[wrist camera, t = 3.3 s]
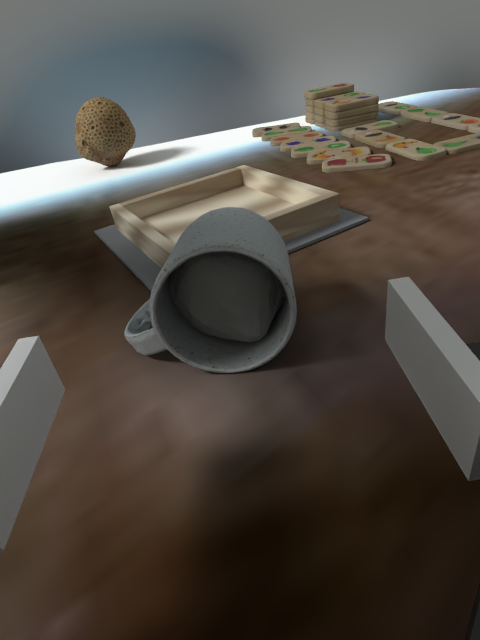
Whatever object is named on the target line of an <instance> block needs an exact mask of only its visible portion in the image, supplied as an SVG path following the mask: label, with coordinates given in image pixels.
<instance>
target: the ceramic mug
mask: <svg viewBox="0 0 480 640" xmlns="http://www.w3.org/2000/svg"><path fill="white" fill-rule="evenodd" d="M296 316H297V306H296V297H295V292H294V287H293V280H292V274H291V269H290V264H289V256H288V252H287V248H286V246H285V243H284V241H283V239H282V238H281V236H280V234H279V233H278V231H277V230H276V229H275V228H274V226H273V225H272V224H271V223H270V222H269V221H268V220H266V219H265V218H264V217H262V216H261V215H259V214H257V213H255V212H253V211H250V210H247V209H244V208H237V207H224V208H219V209H215V210H211V211H209V212H207V213H205V214H203V215H201V216H200V217H199V218H197V219H196V220H195V221H193V222H192V223H191V224H190V225H189V226H188V227H187V228H186V229H185V230H184V232H183V233H182V234H181V236H180V237H179V239H178V241H177V243H176V245H175V247H174V249H173V251H172V253H171V254H170V256H169V257H168V259H167V261H166V262H165V264H164V266H163V267H162V269H161V271H160V273H159V274H158V276H157V278H156V280H155V283H154V286H153V288H152V291H151V297H150V299H149V300H148V301H147V302H146V303H144V304H143V305H142V306H141V307H140V309H139V310H138V311H137V312H136V313H135V314H134V315H133V317H132V318H131V320H130V321H129V323H128V325H127V326H126V329H125V332H124V335H125V338H126V340H127V341H128V342H129V343H130V344H131V345H132V346H133V347H134V348H135V350H136V351H137V352H139V353H141V354H142V355H147V356H148V355H153V354H157V353H160V352H163V351H165V350H168V351H169V352H171V353H172V354H173V355H174V356H175V357H177V358H178V359H179V360H181V361H182V362H184V363H186V364H188V365H190V366H192V367H195V368H198V369H200V370H203V371H209V372H215V373H237V372H244V371H249V370H252V369H255V368H257V367H260V366H262V365H263V364H265V363H267V362H268V361H270V360H271V359H273V358H274V357H275V356H277V355H278V354H279V352H280V351H281V350H282V349H283V348H284V347H285V345H286V344H287V342H288V341H289V339H290V337H291V335H292V333H293V330H294V327H295V323H296ZM152 326H153V328H152ZM151 328H152V329H151Z"/></svg>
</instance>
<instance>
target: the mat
mask: <svg viewBox="0 0 480 640" xmlns="http://www.w3.org/2000/svg"><path fill="white" fill-rule="evenodd" d="M366 221H369V217H366V216H363V215H360V214H357V213H354V212H351V211H348V210H345V209H342V208H340V220H339V221H336V222H334V223H331V224H329V225H326V226H324V227H321V228H319V229H316V230H314V231H311V232H309V233H306V234H304V235H301V236H299V237H296V238H294V239H291V240H289V241H286V242H284V243H285V246H286V248H287V252H288V254H289V253H291V252H294V251H296V250H298V249H301V248H303V247H306V246H308V245H311V244H313V243H315V242H318V241H320V240H323V239H325V238H328V237H330V236H332V235H335V234H337V233H340V232H342V231H344V230H347V229H349V228H352V227H354V226H357V225H359V224H361V223H364V222H366ZM94 232H95V234H96V235H97V236H98V237H99V238H100V239H101V240H102V241H103V242H104V243H105V245H106V246H107V247H108V248H109V249H110V250H111V251H112V252H113V253H114V254H115V255H116V256H117V257H118V258H119V259H120V260H121V261H122V262H123V263H124V264H125V265H126V266H127V267H128V268H129V269H130V270H131V272H132V273H133V274H134V275H135V276H136V277H137V278H138V279H139V280H140V281H141V282H142V283H143V284H144V285H145V286H146V287H147V288H148V289H149V290H150V291H152V288H153V286H154V283H155V280H156V278H157V276H158V274H159V273H160V271H161V269H162V268H160V267H159V266H158V265H157V264H156V263H155V262H154V261H153V260H151V259H150V258H149V257H148V256H147V255H146V254H145V253H143V252H142V251H141V250H140V249H139V248H138V247H137V246H135V245H134V244H133V243H132V242H131V241H130V240H129V239H128V238H126V237H125V236H124V235H123V234H122V233H121V232H120V231H118V230H117V229H116V226H115V224H114V225H111V226H108V227H105V228H102V229H99V230H96V231H94Z"/></svg>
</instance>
